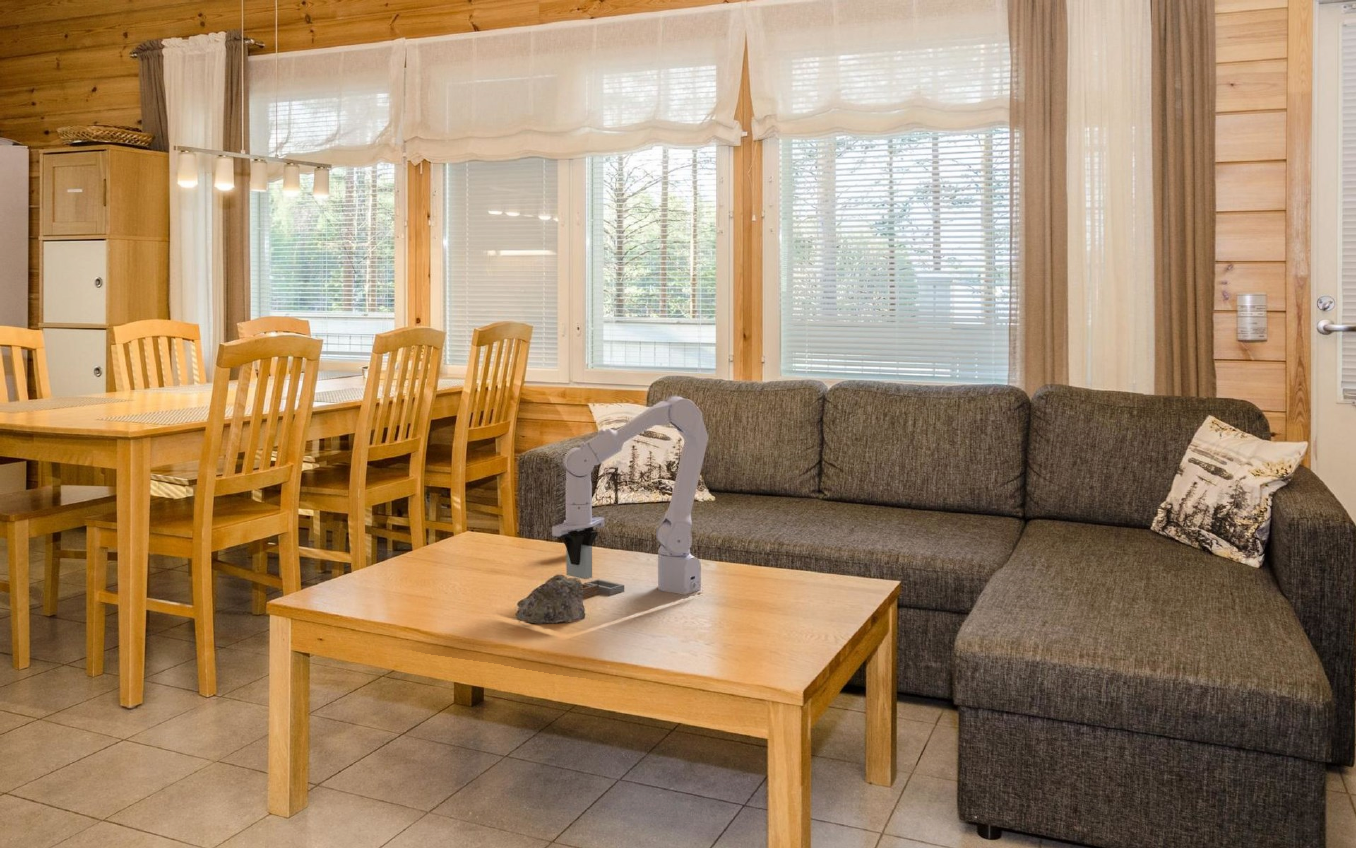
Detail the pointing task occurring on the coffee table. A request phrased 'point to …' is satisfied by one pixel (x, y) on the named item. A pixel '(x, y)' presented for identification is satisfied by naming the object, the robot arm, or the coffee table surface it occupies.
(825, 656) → the coffee table surface
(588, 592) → the frame
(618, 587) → the stand
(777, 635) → the coffee table surface
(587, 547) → the pale blue flat block
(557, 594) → the mineral rock
